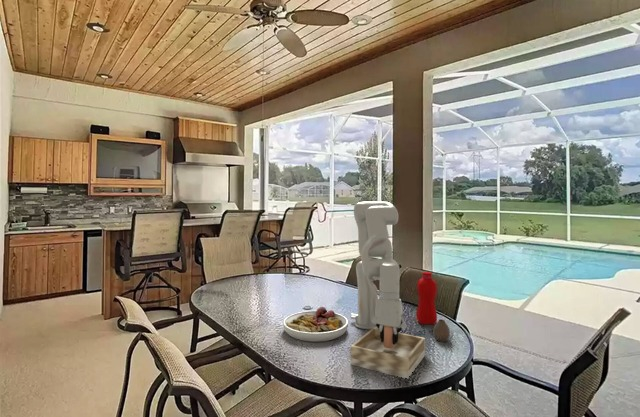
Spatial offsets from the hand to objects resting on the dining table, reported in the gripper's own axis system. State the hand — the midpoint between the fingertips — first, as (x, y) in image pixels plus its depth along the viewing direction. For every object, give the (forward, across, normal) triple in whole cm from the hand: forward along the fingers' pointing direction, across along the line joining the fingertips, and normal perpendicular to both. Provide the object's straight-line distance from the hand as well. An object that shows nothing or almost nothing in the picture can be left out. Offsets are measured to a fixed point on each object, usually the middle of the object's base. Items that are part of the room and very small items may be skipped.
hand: (389, 341), depth 145 cm
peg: (+2, 0, 0) cm, 2 cm away
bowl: (+7, -40, +11) cm, 42 cm away
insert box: (+7, 0, 0) cm, 7 cm away
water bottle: (+7, +1, +50) cm, 51 cm away
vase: (+7, +13, +30) cm, 34 cm away
